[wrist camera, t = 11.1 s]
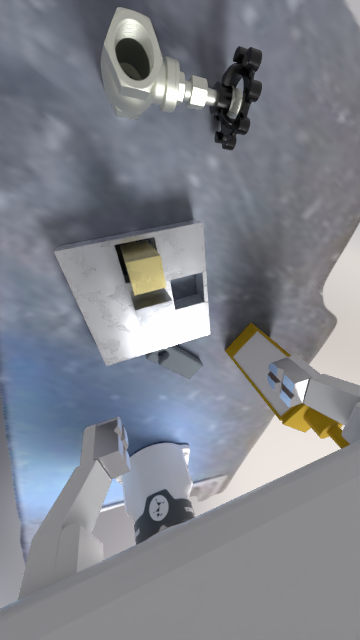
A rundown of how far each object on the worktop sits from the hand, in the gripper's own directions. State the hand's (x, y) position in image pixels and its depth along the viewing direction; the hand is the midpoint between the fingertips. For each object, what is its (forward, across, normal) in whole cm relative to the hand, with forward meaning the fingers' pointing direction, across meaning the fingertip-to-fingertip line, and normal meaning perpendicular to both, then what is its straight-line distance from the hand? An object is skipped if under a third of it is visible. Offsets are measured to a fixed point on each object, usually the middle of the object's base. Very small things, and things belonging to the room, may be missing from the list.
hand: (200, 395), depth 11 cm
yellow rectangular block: (+20, 0, -3) cm, 20 cm away
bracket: (+21, -2, +15) cm, 26 cm away
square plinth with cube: (+20, 0, +2) cm, 20 cm away
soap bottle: (+21, -19, +20) cm, 35 cm away
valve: (+20, -6, -16) cm, 27 cm away
